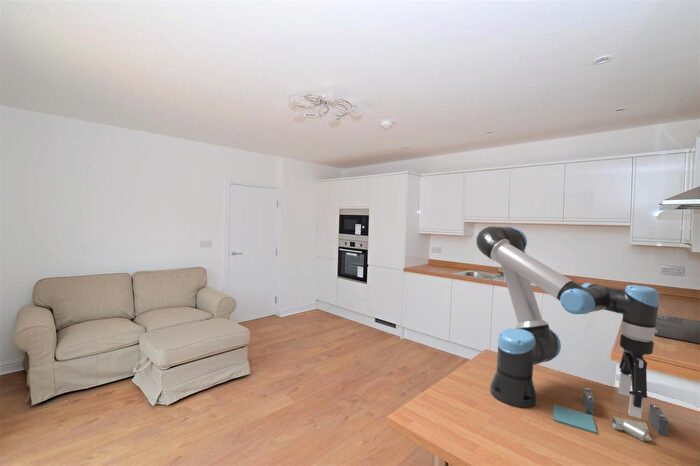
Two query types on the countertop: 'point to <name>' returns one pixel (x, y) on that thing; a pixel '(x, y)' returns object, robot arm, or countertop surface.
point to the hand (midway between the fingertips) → (628, 404)
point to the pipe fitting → (632, 428)
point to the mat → (574, 418)
